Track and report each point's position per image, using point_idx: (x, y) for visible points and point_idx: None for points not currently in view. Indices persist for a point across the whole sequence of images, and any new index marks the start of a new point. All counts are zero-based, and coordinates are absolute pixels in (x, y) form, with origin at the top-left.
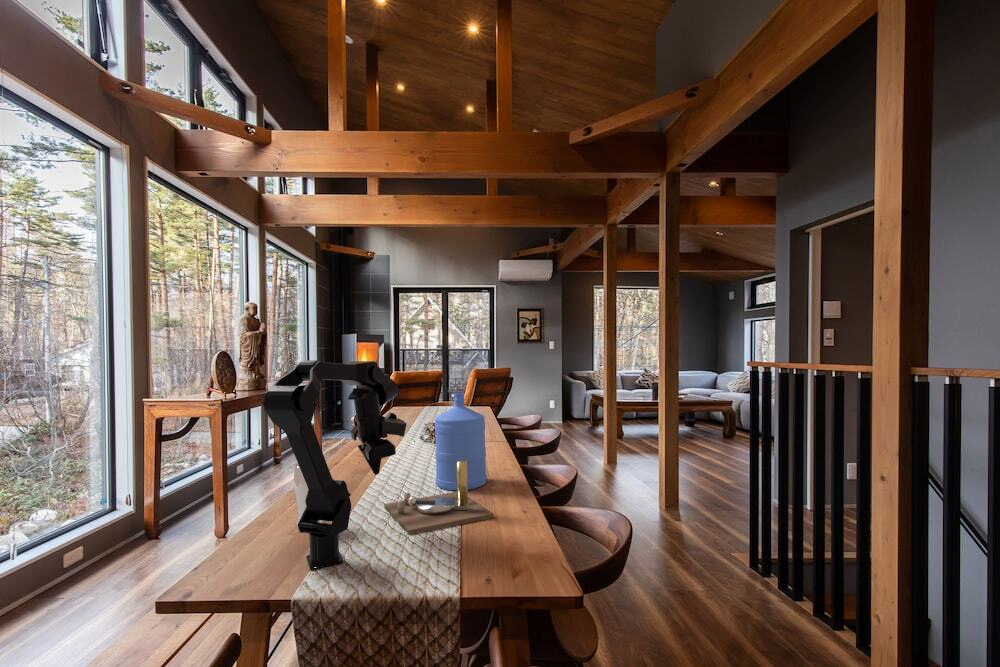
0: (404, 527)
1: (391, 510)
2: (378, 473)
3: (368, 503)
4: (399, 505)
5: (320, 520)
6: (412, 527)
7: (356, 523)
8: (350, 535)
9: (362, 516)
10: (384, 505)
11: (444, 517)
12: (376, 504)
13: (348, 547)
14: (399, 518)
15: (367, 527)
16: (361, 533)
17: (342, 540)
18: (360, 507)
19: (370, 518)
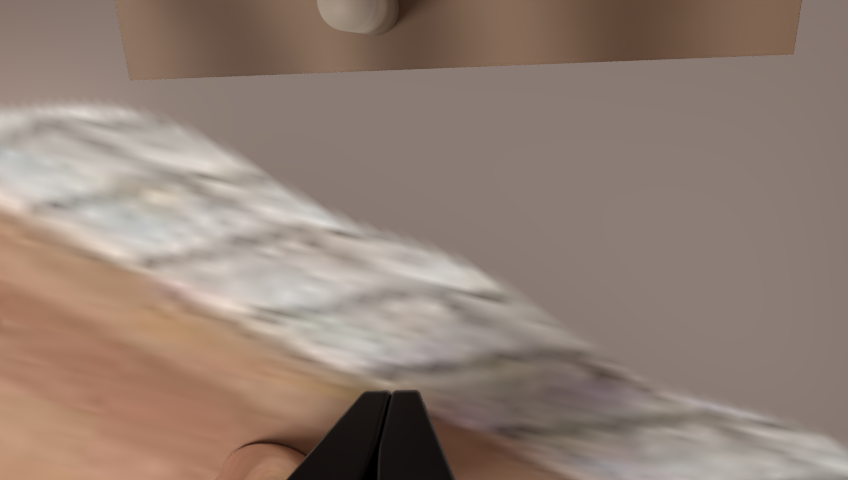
0: (680, 58)
1: (284, 63)
2: (421, 398)
3: (35, 154)
4: (375, 21)
5: None
6: (752, 3)
7: (365, 302)
8: (546, 377)
9: (259, 243)
10: (143, 79)
11: None
12: (66, 111)
13: (731, 431)
14: (487, 51)
15: (466, 265)
16: (550, 319)
17: (600, 429)
18: (95, 215)
19: (314, 210)
